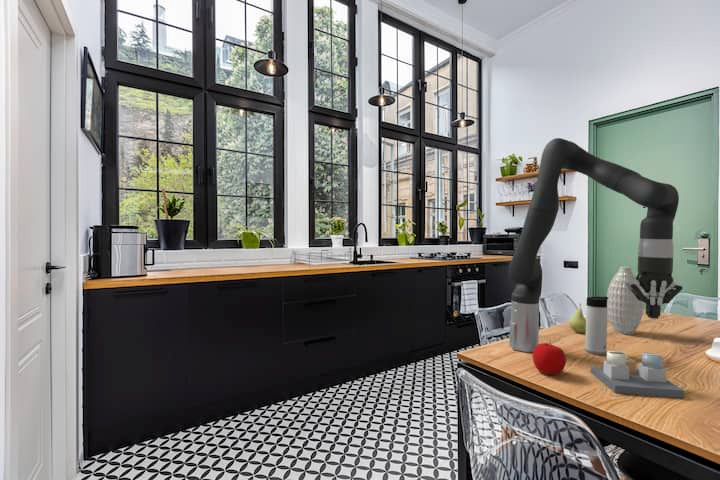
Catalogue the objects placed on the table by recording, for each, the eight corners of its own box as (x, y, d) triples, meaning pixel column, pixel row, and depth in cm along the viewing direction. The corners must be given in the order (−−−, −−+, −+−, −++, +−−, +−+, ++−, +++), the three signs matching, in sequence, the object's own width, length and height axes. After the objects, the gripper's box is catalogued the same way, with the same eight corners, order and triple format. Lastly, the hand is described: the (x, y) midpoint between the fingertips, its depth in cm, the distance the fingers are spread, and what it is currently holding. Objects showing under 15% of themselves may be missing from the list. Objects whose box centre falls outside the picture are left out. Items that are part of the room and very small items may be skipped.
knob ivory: (611, 377, 100) (611, 354, 100) (603, 371, 104) (603, 349, 104) (628, 378, 99) (629, 355, 99) (620, 372, 103) (620, 350, 103)
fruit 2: (568, 332, 153) (569, 304, 153) (570, 329, 160) (570, 302, 159) (587, 335, 150) (587, 306, 149) (588, 331, 156) (588, 303, 155)
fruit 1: (573, 376, 106) (573, 343, 106) (548, 380, 104) (549, 345, 103) (548, 365, 115) (549, 334, 115) (525, 368, 112) (525, 336, 112)
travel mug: (611, 356, 124) (612, 298, 124) (589, 354, 125) (590, 297, 125) (602, 350, 130) (603, 295, 130) (582, 349, 132) (583, 294, 131)
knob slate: (647, 380, 98) (648, 356, 98) (638, 373, 102) (638, 351, 102) (666, 381, 97) (666, 357, 97) (655, 375, 102) (656, 352, 102)
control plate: (614, 393, 95) (615, 372, 95) (590, 372, 109) (591, 354, 109) (684, 398, 92) (684, 376, 92) (650, 376, 106) (650, 358, 106)
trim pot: (623, 373, 104) (624, 356, 104) (618, 369, 107) (618, 353, 107) (635, 373, 103) (635, 357, 103) (629, 369, 106) (629, 354, 106)
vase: (606, 327, 163) (607, 265, 162) (642, 331, 156) (643, 266, 155) (605, 333, 153) (606, 267, 152) (643, 338, 145) (645, 269, 145)
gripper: (636, 255, 97) (633, 319, 97) (692, 257, 94) (690, 322, 95) (621, 254, 104) (619, 313, 104) (673, 255, 102) (671, 316, 102)
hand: (652, 317), depth 100 cm, fingers closed
